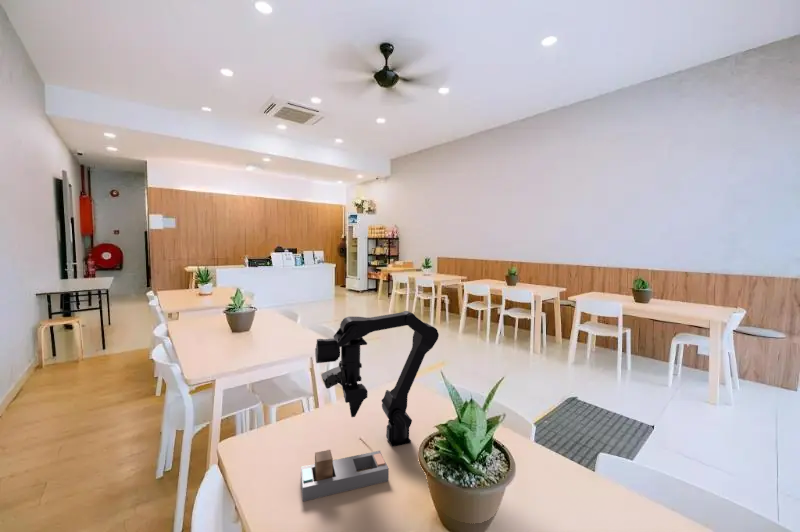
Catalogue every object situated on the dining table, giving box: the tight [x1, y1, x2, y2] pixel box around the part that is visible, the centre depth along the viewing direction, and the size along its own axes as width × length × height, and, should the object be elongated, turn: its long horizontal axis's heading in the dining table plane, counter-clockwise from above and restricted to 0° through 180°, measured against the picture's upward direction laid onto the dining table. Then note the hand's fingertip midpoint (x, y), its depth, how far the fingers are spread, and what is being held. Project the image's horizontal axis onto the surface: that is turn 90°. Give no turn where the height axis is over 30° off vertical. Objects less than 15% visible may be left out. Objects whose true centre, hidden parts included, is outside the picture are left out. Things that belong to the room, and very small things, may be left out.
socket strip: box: [300, 450, 390, 502], centre depth 88 cm, size 22×8×4 cm, turn 110°
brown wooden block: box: [314, 449, 334, 482], centre depth 86 cm, size 4×4×8 cm
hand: (350, 409), depth 101 cm, fingers open, 9 cm apart
